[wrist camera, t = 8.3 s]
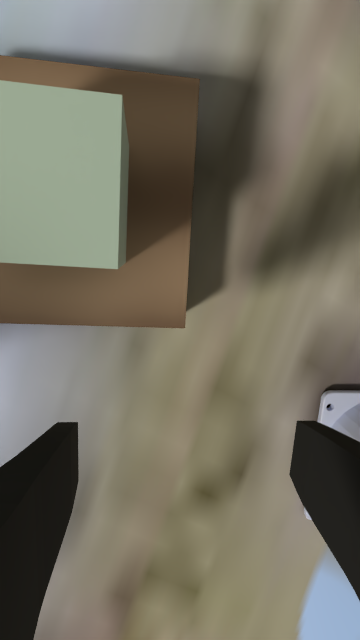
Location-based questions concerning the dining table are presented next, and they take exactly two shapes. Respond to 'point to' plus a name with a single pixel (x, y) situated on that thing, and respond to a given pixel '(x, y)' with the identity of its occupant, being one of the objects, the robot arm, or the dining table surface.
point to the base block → (142, 209)
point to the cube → (62, 176)
